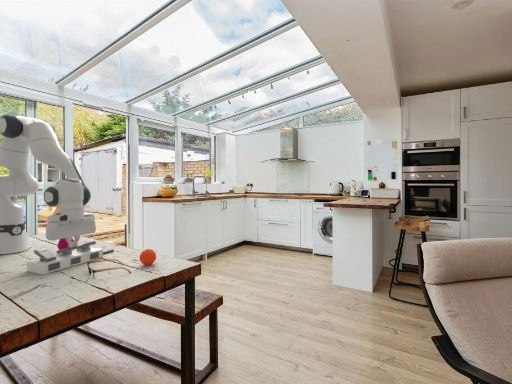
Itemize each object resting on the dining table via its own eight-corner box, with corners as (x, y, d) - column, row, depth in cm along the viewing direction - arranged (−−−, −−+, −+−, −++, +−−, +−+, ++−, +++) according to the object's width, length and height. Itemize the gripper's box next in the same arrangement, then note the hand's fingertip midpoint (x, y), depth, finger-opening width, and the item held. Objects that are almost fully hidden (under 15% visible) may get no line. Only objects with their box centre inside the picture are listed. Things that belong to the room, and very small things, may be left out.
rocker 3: (76, 249, 133) (76, 246, 133) (84, 248, 137) (83, 245, 137) (88, 245, 130) (87, 242, 130) (96, 243, 133) (95, 240, 134)
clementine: (154, 261, 131) (154, 245, 130) (161, 264, 126) (161, 248, 126) (137, 264, 125) (136, 248, 125) (143, 268, 120) (143, 251, 120)
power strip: (26, 271, 115) (26, 258, 114) (106, 250, 149) (106, 240, 148) (42, 274, 111) (42, 261, 110) (120, 252, 145) (120, 242, 145)
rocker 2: (57, 254, 125) (56, 250, 125) (65, 252, 128) (64, 248, 128) (69, 250, 122) (68, 246, 122) (77, 248, 125) (76, 245, 125)
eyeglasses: (85, 271, 117) (85, 261, 117) (122, 264, 126) (122, 256, 126) (90, 281, 106) (90, 270, 106) (131, 273, 115) (131, 263, 115)
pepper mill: (66, 256, 136) (65, 215, 135) (53, 255, 138) (53, 214, 137) (78, 252, 143) (78, 213, 142) (66, 252, 145) (65, 213, 144)
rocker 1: (33, 252, 117) (34, 249, 116) (43, 250, 120) (44, 247, 120) (46, 261, 114) (47, 258, 113) (56, 259, 117) (56, 256, 117)
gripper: (89, 212, 134) (90, 241, 134) (42, 217, 115) (43, 251, 115) (98, 213, 131) (99, 242, 132) (52, 218, 112) (53, 252, 113)
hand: (73, 246), depth 123 cm, fingers closed, pressing on rocker 2
